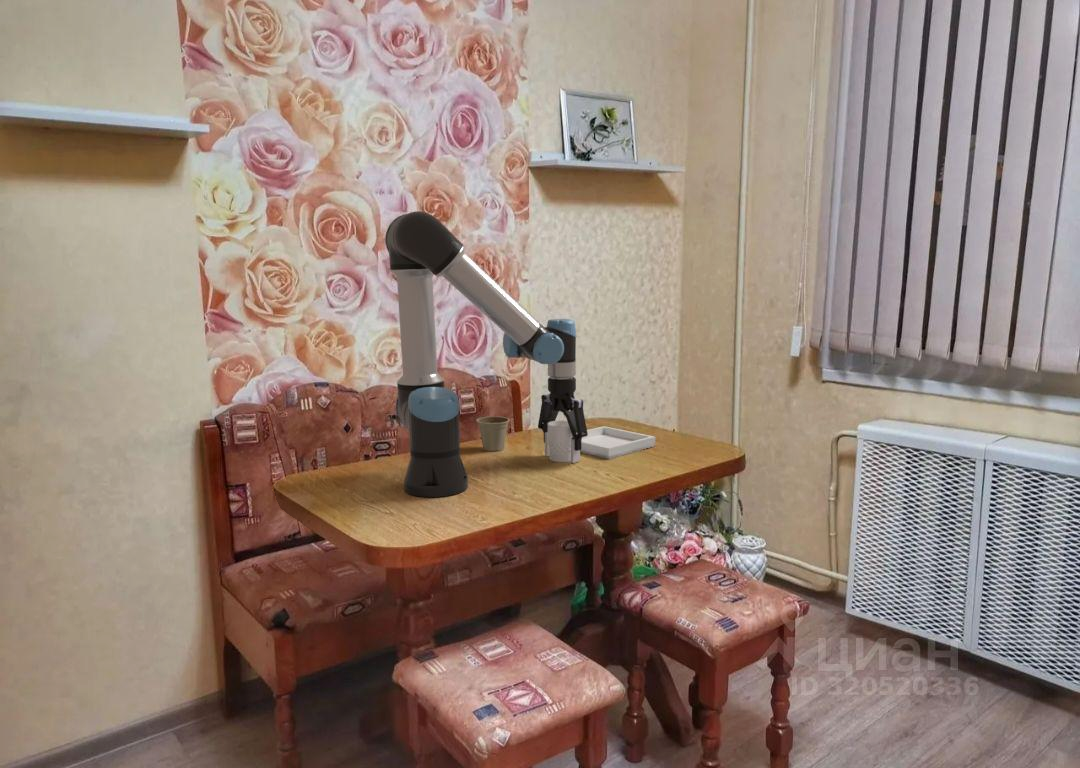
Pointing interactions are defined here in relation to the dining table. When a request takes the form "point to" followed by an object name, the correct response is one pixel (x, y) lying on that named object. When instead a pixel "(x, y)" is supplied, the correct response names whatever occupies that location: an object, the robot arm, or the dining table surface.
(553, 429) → the white cup
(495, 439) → the flower pot
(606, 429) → the tray
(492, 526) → the dining table surface
